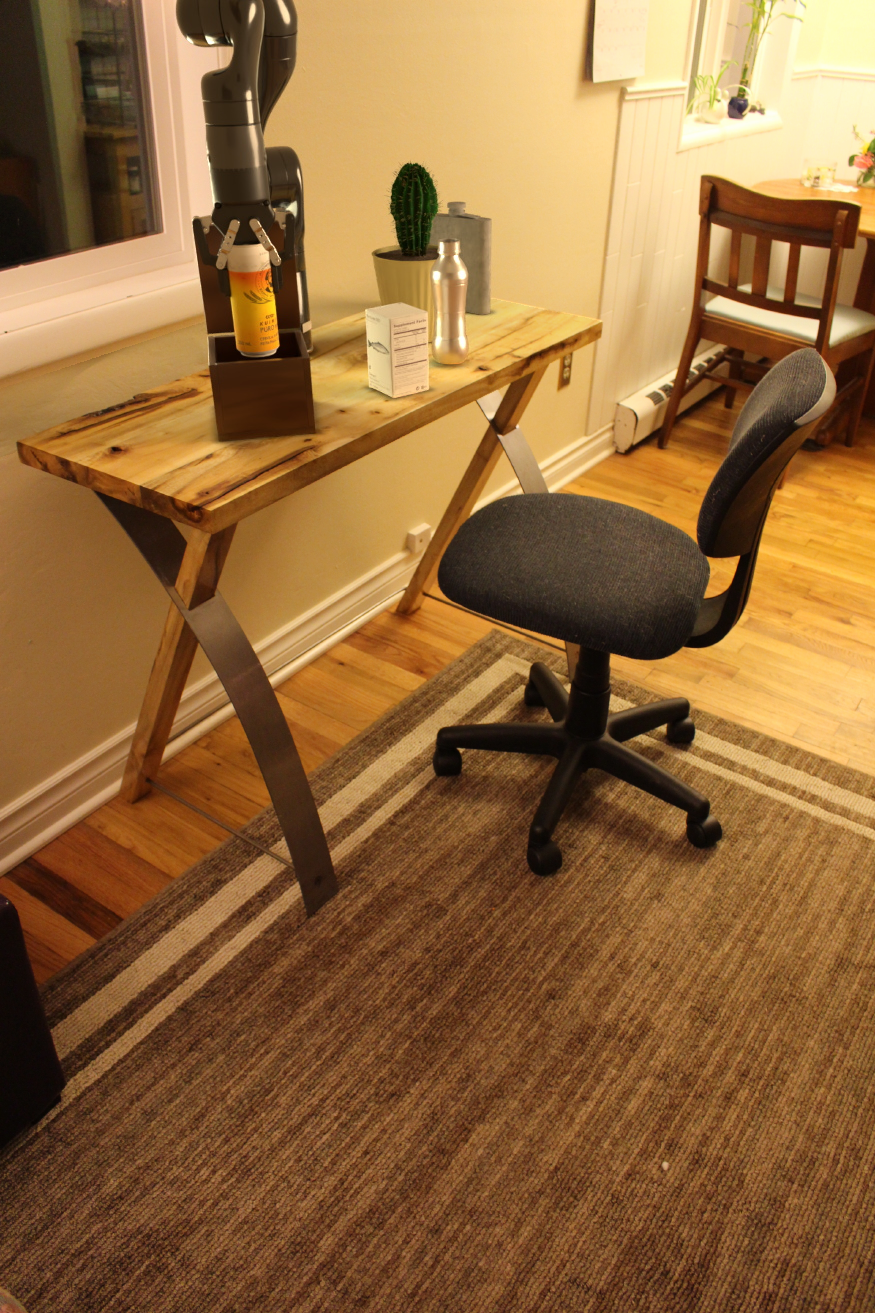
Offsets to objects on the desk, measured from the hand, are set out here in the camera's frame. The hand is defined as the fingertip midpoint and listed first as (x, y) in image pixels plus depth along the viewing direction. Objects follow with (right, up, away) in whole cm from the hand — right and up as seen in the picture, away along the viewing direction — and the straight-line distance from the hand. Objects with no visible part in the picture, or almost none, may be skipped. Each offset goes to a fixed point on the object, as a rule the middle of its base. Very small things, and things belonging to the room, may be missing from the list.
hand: (252, 293), depth 143 cm
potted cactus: (+22, +10, +50) cm, 55 cm away
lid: (-2, +4, +6) cm, 8 cm away
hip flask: (+30, +20, +66) cm, 75 cm away
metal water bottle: (+28, 0, +35) cm, 45 cm away
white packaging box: (+20, -7, +23) cm, 31 cm away
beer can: (0, -7, +4) cm, 8 cm away
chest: (0, -15, +12) cm, 19 cm away
